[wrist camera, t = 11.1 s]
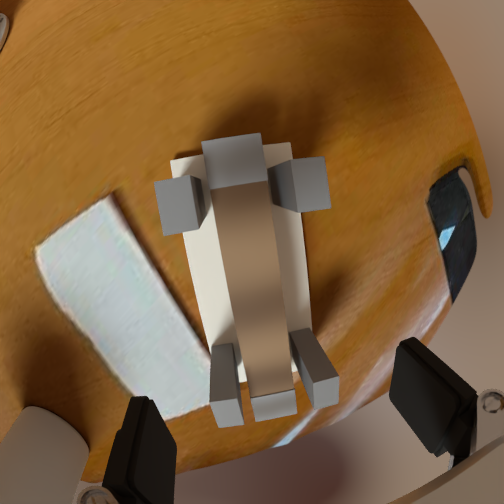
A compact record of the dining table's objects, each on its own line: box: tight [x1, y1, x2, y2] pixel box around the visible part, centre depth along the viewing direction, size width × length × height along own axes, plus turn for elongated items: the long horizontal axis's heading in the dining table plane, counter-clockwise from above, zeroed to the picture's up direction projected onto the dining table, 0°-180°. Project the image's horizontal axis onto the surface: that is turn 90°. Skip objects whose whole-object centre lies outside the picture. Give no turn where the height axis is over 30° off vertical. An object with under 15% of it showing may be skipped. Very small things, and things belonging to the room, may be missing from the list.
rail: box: [201, 133, 297, 422], centre depth 22 cm, size 22×4×6 cm, turn 9°
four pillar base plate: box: [154, 142, 339, 428], centre depth 21 cm, size 22×10×9 cm, turn 9°
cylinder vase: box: [0, 406, 89, 504], centre depth 16 cm, size 12×12×25 cm
